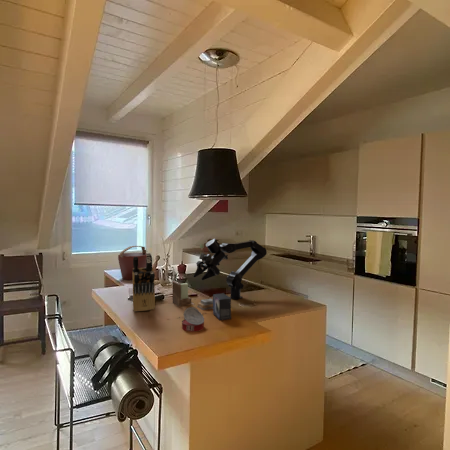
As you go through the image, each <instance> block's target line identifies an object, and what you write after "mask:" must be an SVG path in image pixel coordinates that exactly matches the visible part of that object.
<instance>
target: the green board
mask: <svg viewBox="0 0 450 450" xmlns="http://www.w3.org/2000/svg"><path fill="white" fill-rule="evenodd" d="M180 284H181V299H187V298H188V297H189V283H187V282H185V283H180Z"/></svg>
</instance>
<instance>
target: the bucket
mask: <svg viewBox="0 0 450 450" xmlns="http://www.w3.org/2000/svg"><path fill="white" fill-rule="evenodd" d="M137 247H138V248H141V251H142V252H127V251H128V250H130V249H132V248H137ZM147 253H148V252H147V249H146V247H145V246H142V245H132V246H130V245H129V246H127V247H126V248H125V249H123V250H121V251H120V253H119V254H117V255H118V256H117V259H118V265H119V270H120V274H121V278H122V280H125V281H133V268H134V266H133V258H134V257H138V268H146V260H147V259H146V258H147V256H146V254H147Z"/></svg>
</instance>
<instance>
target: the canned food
mask: <svg viewBox="0 0 450 450" xmlns="http://www.w3.org/2000/svg"><path fill="white" fill-rule="evenodd" d="M183 318H184V319H183V320H182V321H181V329H182V330H183V331H186V332H192V333H193V332H199V331H202V330H203V329H204V328H205V317H204V316H203V314H202V313H201V311H199V309H197V308H196V307H194V306H193V307H192V306H189V307H187V308H186V309H185V310H184V312H183Z"/></svg>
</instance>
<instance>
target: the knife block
mask: <svg viewBox="0 0 450 450" xmlns="http://www.w3.org/2000/svg"><path fill="white" fill-rule="evenodd" d="M146 253H147V254H146V256H147V258H146V259H147V260H146V268H138V257H134V258H133V266H134V268H133V280H132V303H133V307H132V308H133V312H142V311H150V310H156V307H155V306H156V298H155V297H156V295H155V294H156V293H155V291H156V287H155V286H156V285H155V283H156V282H155V280H156V279H155V277H156V273H155V270H154V267H153V257H152V254H151V253H150V252H146Z"/></svg>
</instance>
